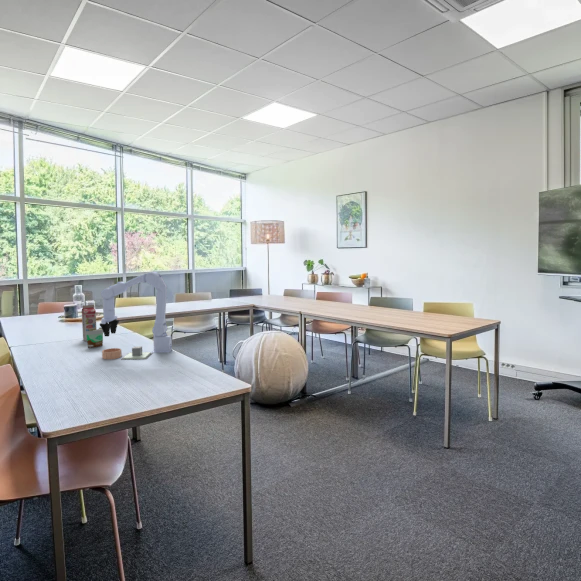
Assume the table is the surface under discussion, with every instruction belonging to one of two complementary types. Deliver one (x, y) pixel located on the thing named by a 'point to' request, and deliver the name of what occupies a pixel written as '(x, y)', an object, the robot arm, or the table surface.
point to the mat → (137, 359)
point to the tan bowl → (111, 353)
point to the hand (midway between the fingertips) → (110, 334)
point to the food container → (95, 338)
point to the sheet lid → (137, 353)
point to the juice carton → (88, 319)
